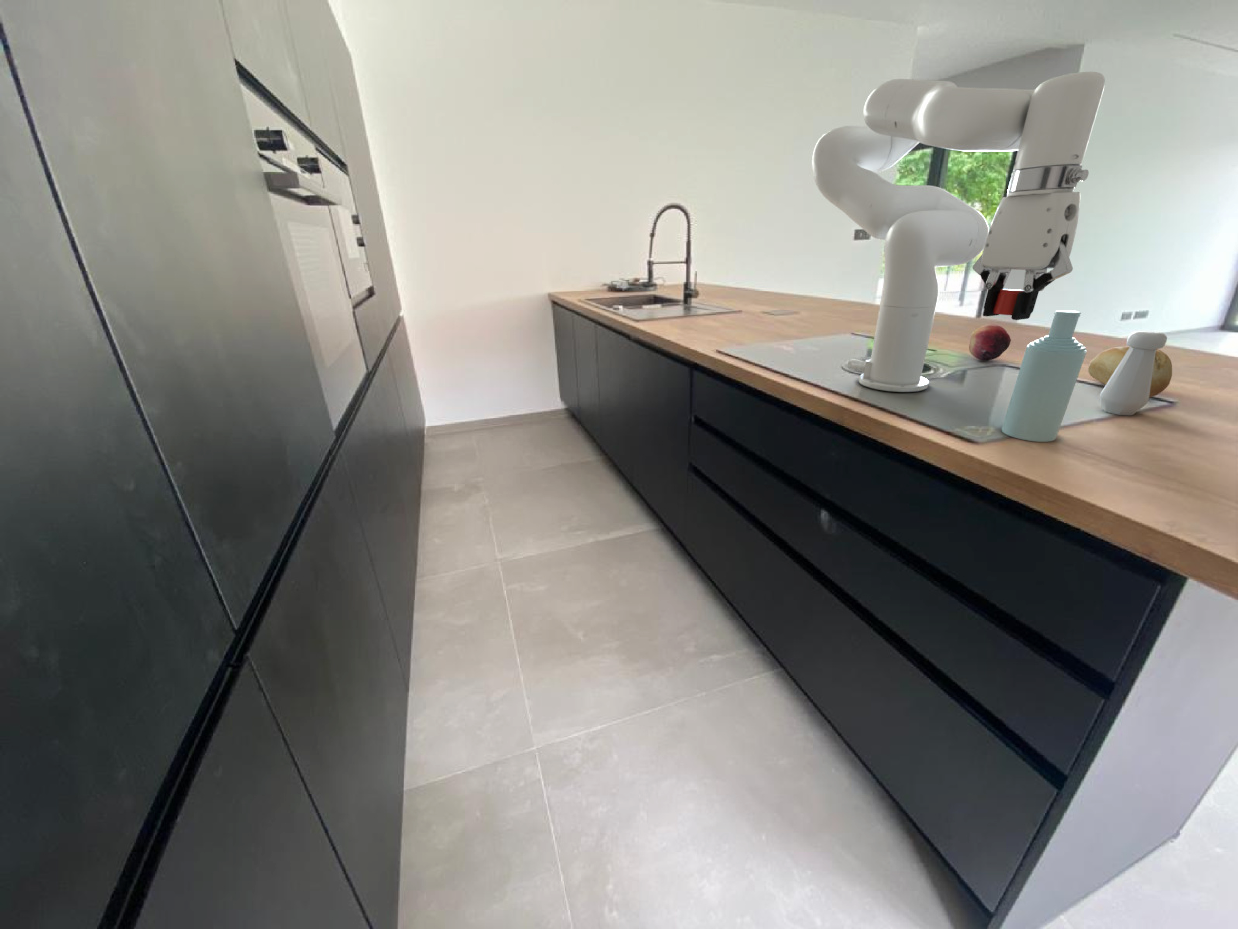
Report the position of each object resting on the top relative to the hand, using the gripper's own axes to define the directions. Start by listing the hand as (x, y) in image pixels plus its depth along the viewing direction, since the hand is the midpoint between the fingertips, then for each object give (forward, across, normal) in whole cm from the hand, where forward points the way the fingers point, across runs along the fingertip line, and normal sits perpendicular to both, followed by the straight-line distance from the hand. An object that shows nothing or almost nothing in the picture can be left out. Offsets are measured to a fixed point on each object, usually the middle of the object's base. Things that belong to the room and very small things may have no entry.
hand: (1005, 315), depth 78 cm
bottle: (+16, -9, +2) cm, 19 cm away
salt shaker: (+16, -9, -20) cm, 27 cm away
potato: (+16, -2, -35) cm, 38 cm away
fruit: (+16, +25, -35) cm, 46 cm away
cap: (0, 0, 0) cm, 0 cm away
